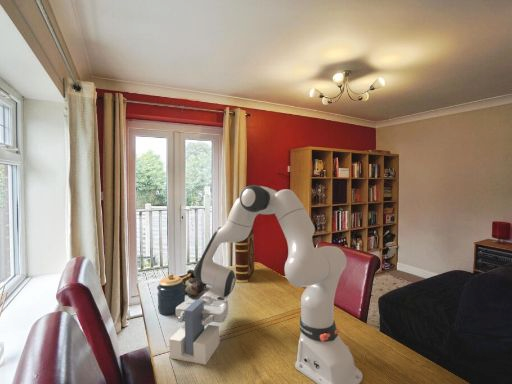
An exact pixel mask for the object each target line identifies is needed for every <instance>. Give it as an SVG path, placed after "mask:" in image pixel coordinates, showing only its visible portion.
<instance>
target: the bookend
mask: <svg viewBox="0 0 512 384" xmlns="http://www.w3.org/2000/svg"><path fill="white" fill-rule="evenodd" d="M193 272H194V269H188V270H187V273H186V274H182V275H178V276H179V277H181V278H182V279H183V281H182V282H184V283H185V285H184V289H185V293H187V296H188V297H196V296H198V295H199V294H201V293H203V291H204V290H205V289H206V288H207V287H206V286H208V285H207V284H205V283H202V282H199V281H196V279H195V277H194V273H193Z"/></svg>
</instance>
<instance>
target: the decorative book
mask: <svg viewBox="0 0 512 384" xmlns="http://www.w3.org/2000/svg"><path fill="white" fill-rule="evenodd" d="M254 232H255V231H254V228H253V227H252V229H251V231H250V234H249V236H248V237H247V238H246V239H245V240H243V241H240V242H234V252H235V253H234V254H235V264H234V266H235V270H234V271H235V272H234V274H235V277H236V281H235V283H239V284H245V283H249V281H250V279H251V277H252V276H253V274H254V272H255V233H254Z"/></svg>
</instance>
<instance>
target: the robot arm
mask: <svg viewBox="0 0 512 384" xmlns="http://www.w3.org/2000/svg"><path fill="white" fill-rule="evenodd" d="M239 195H240V197H238V198H236V199H235V202H234V203H233V205H232V207H231V209H230V211H229V214H228V217H227V220H226V222H225V223H224V224H223V226H220V227H219V226H218V227H217V228H216V230H215V231H214V232H213V234H212V236H211V237H210V240H209V241H208V243H207V245H206V247H205V249H204V251H203V253H202V255H201V257H200V259H199V260H198V262H197V263H196V265H195V267H194V268H193V270H194V272H193V273H194V277H195V279H196V281H199V282H202V283H205V284H207V285H206V286H210V288H209V289H208V290H207V291H206V292H204V293H203V295H201V296H200V297H199V298H198V299H199V300H204V309H203V310H202V312H201V313H202V325H204V327H205V326H206V327H207V326H208V325H210V324H211V323H224V322H225V321H226V319H227V317H228V315H229V302H228V298H229V296H230V294H231V293H232V292H233V290H234V288H235V285H236V273H235V272H234V271H235V270H233V269H230V268H228V267H226V266H223V265H221V264H218V263H216V262H214V261H213V257H214V256H215V254H216V252H217V250H218V248H219V246H220V245H221V244H223V243H224V244H225V243H232V244H233V243H234V244H235V242H240V241H243V240H245V239H246V238H247V237H248V236H249V234H250V231H251V229H252V228H253V225H254V221H255V220H256V219H255V218H256V217H257V216H258V215H259V214H260V215H268V216H274V215H275V217H276V219H277V221H278V224H279V225H280V228H281V230H282V232H283V235H284V238H285V240H286V243H287V250H288V252H287V259H286V260H285V262H284V263H285V264H284V270H283V271H284V275H285V278H286V280H287V281H288V283H290V285H292V286H293V287H295V288H304V290H303V292H302V294H301V298H300V317H299V331H300V335H299V338H298V347H297V354H296V361H295V365H294V368H295V369H296V370H297V371H298V372H300V373H301V374H303V375H304V376H305V377H307V378H308V379H310V380H312V381H313V382H314V383H316V384H360V383H361V382H362V380H363V373H362V371H361V370H360V369H359V368H358V367H357V366H356V365H355V360H354V356H353V354H352V353H351V350H350V347H349V345H346V344H345V343H344V341H343V340H342V339H341V337H340V336H339V333H341V331H340V330H341V328H337V325H336V321H335V319H334V317H335V315H334V312H335V309H334V308H335V305H334V304H335V297H336V293H337V292H336V291H337V288H338V284H339V281H340V278H341V275H342V274H343V272H344V271H345V269H346V267H347V262H348V261H347V257H346V254H345V252H344V251H343V250H342V249H341V248H339V247H338V246H334V245H324V246H320V247H316V248H315V245H314V242H313V236H314V234H315V231H316V228H315V225H314V223H313V221H312V220H311V217H310V216H309V214H308V211H307V210H306V208H305V205H304V204H303V203H302V201H301V200H300V198H299V197H298V196H297V194H296V193H295V192H294V191H293V190H292V189H287V188H286V189H285V188H284V189H280V190H279V191H278V190H276V189H273V188H271V187H270V188H269V187H267V186H262V185H257V184H251V185H248V186H246V187H244V188H243V189H242V191H241V192H240V194H239ZM194 301H195V300H185V302H183V303H181V304H180V305H178V306H177V307H176V314H175V316H176V317H177V318H178V323H184V322H185V314H184V310H185V309H186V308H188V307H189V306H190V305H191V304H192V303H193V302H194Z"/></svg>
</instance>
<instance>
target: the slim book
mask: <svg viewBox="0 0 512 384" xmlns="http://www.w3.org/2000/svg"><path fill="white" fill-rule="evenodd" d="M193 301H194V302H193V303H192V304H191V305H190V306H189V307H188V308H186V309H185V310H184V314H185V318H184V320H185V321H184V324H185V342H186V354H189V355H194V351H193V343H194V342H195V340H196V339H197V338H198V337H199V336H200V334H201V333H202V332H203V331H204V330H205V328H206V327H205V326H204V325H202V313H201V312H202V310H203V309H204V300H199V298H198V299H195V300H193Z"/></svg>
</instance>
